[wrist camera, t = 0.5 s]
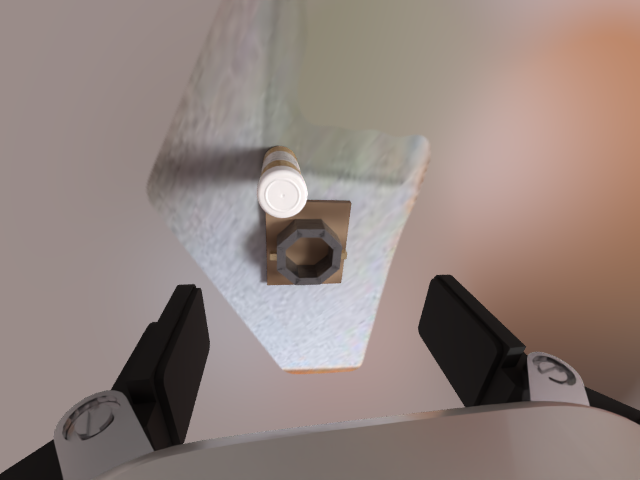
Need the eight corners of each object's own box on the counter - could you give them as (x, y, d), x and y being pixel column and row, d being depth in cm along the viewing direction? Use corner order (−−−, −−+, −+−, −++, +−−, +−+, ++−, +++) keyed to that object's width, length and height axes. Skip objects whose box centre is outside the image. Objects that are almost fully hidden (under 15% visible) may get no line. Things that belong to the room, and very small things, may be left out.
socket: (269, 218, 38) (269, 229, 35) (345, 219, 40) (351, 229, 37) (270, 272, 43) (270, 285, 39) (339, 270, 44) (344, 283, 41)
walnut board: (265, 199, 38) (265, 201, 37) (349, 200, 40) (351, 203, 39) (267, 281, 44) (267, 285, 44) (339, 279, 46) (340, 283, 46)
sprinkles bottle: (286, 186, 38) (291, 228, 26) (256, 168, 36) (247, 204, 24) (304, 157, 36) (317, 187, 24) (273, 137, 35) (272, 159, 23)
